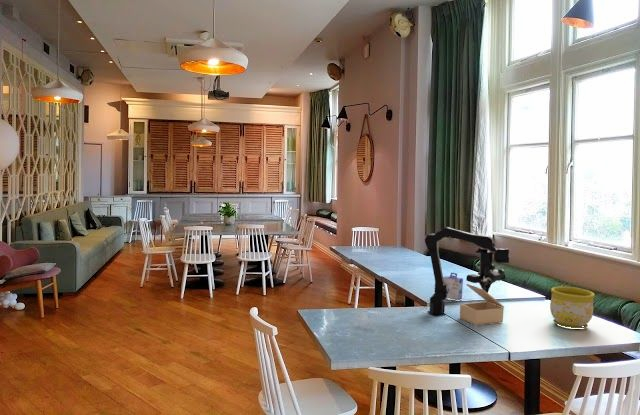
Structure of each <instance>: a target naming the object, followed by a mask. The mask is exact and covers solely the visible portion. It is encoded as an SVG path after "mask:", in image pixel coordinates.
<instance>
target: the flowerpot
mask: <svg viewBox="0 0 640 415" xmlns="http://www.w3.org/2000/svg"><path fill="white" fill-rule="evenodd" d="M550 291H551V299H550V305H549V309H550V314H551V316H552V317H553V320H552V321H553V323H554V324H555V323H556V324H559V325H561V326H565V327H571V328H585V329H587V328H588V323H589V322H591V320H592V318H593V314H594V298H595V297H596V295H595V294H596V293H594V292H593V291H590V290H588V289H584V288H579V287H573V286H554V287H551V289H550ZM556 324H555V325H556ZM582 326H584V327H582Z"/></svg>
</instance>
